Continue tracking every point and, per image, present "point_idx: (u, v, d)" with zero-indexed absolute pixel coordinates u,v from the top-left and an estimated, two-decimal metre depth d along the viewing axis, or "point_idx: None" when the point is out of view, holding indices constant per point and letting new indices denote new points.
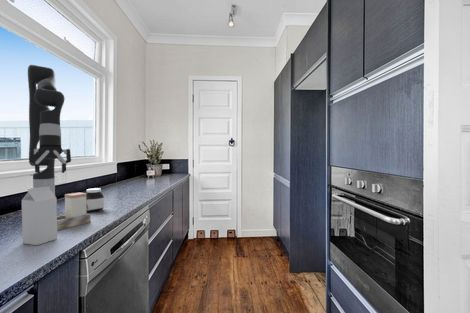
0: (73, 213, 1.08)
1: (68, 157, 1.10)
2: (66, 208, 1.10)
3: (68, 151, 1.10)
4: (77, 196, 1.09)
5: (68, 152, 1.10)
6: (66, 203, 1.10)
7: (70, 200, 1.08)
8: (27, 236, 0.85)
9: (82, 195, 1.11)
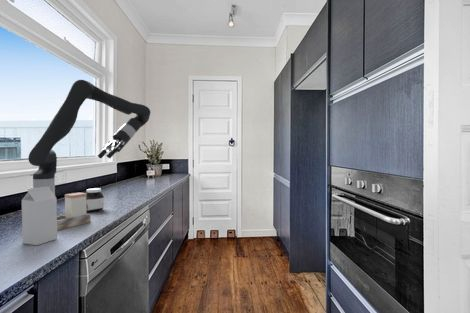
0: (73, 213, 1.08)
1: (107, 149, 1.31)
2: (66, 208, 1.10)
3: None
4: (77, 196, 1.09)
5: None
6: (66, 203, 1.10)
7: (70, 200, 1.08)
8: (27, 236, 0.85)
9: (82, 195, 1.11)
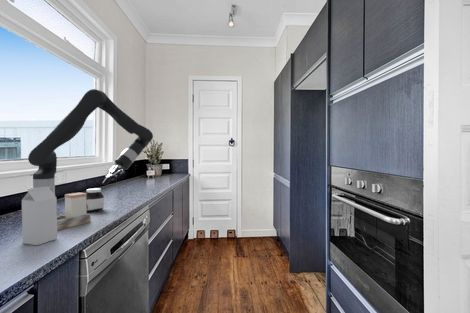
0: (73, 213, 1.08)
1: None
2: (66, 208, 1.10)
3: None
4: (77, 196, 1.09)
5: None
6: (66, 203, 1.10)
7: (70, 200, 1.08)
8: (27, 236, 0.85)
9: (82, 195, 1.11)
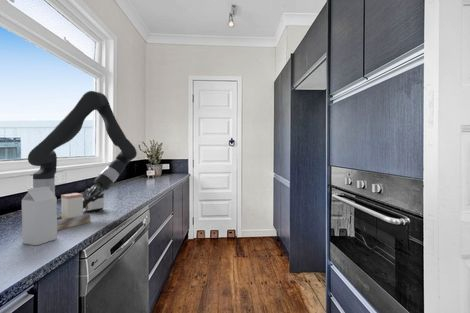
0: (70, 213, 1.07)
1: None
2: (62, 209, 1.08)
3: None
4: (73, 197, 1.08)
5: None
6: (62, 204, 1.08)
7: (66, 201, 1.06)
8: (27, 236, 0.85)
9: (78, 195, 1.09)
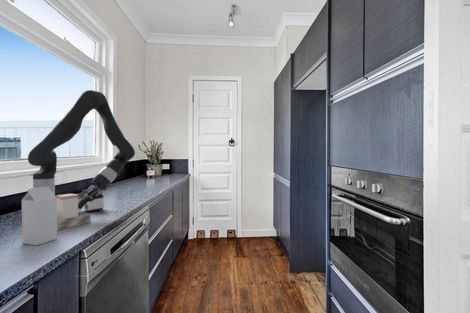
0: (64, 214, 1.05)
1: None
2: (57, 210, 1.07)
3: None
4: (68, 197, 1.06)
5: None
6: (57, 204, 1.07)
7: (61, 201, 1.05)
8: (27, 236, 0.85)
9: (74, 196, 1.08)
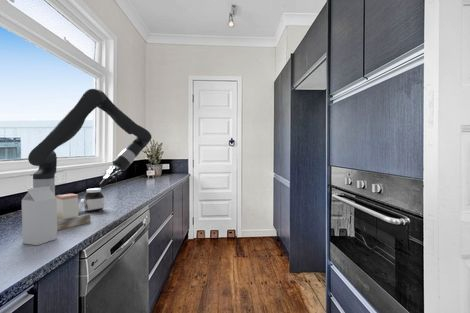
0: (64, 214, 1.05)
1: None
2: (57, 210, 1.07)
3: None
4: (68, 197, 1.06)
5: None
6: (57, 204, 1.07)
7: (61, 201, 1.05)
8: (27, 236, 0.85)
9: (74, 196, 1.08)
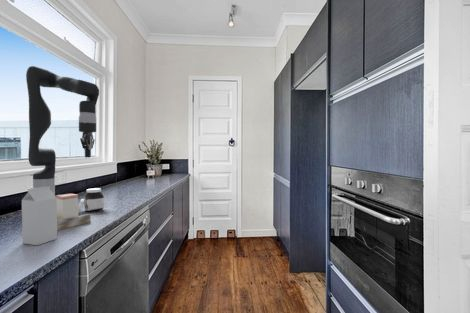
0: (64, 214, 1.05)
1: (92, 144, 1.28)
2: (57, 210, 1.07)
3: (93, 140, 1.30)
4: (68, 197, 1.06)
5: (93, 141, 1.30)
6: (57, 204, 1.07)
7: (61, 201, 1.05)
8: (27, 236, 0.85)
9: (74, 196, 1.08)
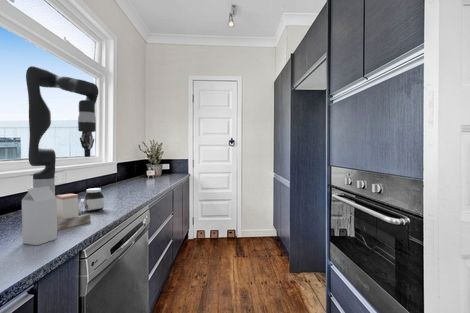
0: (64, 214, 1.05)
1: (92, 144, 1.28)
2: (57, 210, 1.07)
3: (93, 140, 1.30)
4: (68, 197, 1.06)
5: (93, 141, 1.30)
6: (57, 204, 1.07)
7: (61, 201, 1.05)
8: (27, 236, 0.85)
9: (74, 196, 1.08)
